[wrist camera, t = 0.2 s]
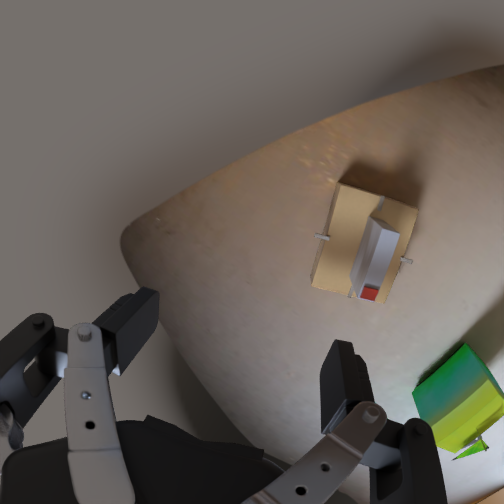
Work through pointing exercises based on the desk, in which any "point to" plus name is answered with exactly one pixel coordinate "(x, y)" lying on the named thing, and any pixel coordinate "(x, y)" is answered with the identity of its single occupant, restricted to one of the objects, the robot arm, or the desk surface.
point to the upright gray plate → (373, 258)
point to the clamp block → (358, 238)
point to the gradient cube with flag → (460, 402)
